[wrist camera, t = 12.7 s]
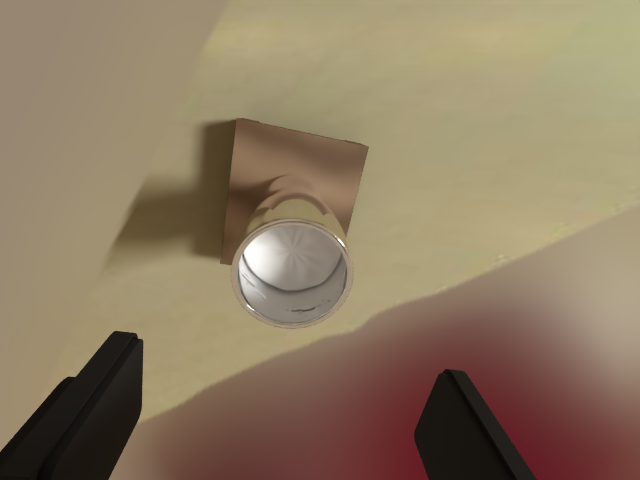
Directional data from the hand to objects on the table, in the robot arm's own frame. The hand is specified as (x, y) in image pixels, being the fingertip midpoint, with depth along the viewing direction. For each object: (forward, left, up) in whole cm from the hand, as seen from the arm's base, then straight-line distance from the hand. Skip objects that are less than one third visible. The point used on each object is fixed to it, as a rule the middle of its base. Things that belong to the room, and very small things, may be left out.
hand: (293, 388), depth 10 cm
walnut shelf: (0, 0, -27) cm, 27 cm away
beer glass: (0, 0, -23) cm, 23 cm away
